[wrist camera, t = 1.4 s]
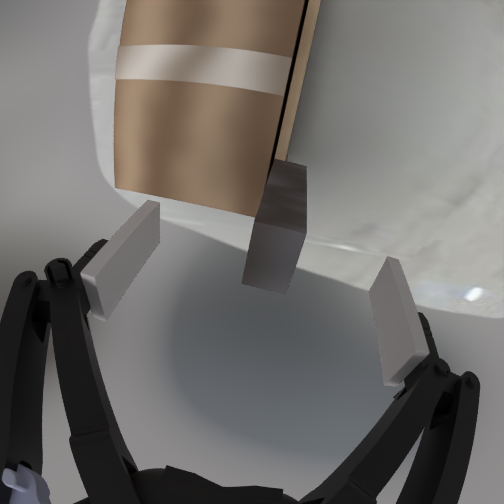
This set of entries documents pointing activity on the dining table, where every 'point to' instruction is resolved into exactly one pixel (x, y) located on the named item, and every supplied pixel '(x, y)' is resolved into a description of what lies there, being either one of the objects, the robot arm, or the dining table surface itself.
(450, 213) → the dining table surface
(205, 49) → the carton
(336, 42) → the dining table surface
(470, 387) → the robot arm
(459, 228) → the dining table surface
